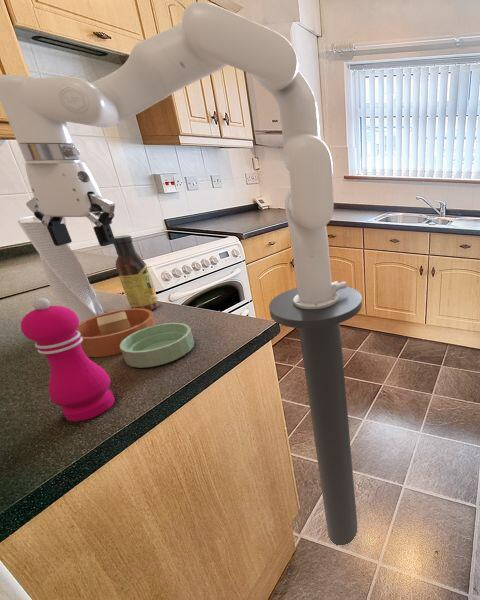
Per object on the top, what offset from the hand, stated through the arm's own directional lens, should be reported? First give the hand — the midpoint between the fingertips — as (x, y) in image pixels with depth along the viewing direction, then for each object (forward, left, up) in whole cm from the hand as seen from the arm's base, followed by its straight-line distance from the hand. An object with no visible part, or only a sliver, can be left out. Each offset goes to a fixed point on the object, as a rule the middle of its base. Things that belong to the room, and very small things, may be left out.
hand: (86, 244), depth 70 cm
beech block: (0, +3, -21) cm, 21 cm away
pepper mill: (+6, +28, -22) cm, 36 cm away
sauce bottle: (-7, -13, -22) cm, 26 cm away
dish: (-6, +16, -22) cm, 27 cm away
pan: (0, +3, -22) cm, 22 cm away
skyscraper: (+5, -13, -22) cm, 26 cm away
